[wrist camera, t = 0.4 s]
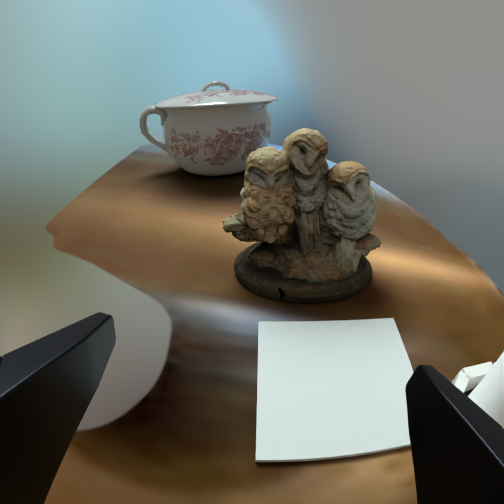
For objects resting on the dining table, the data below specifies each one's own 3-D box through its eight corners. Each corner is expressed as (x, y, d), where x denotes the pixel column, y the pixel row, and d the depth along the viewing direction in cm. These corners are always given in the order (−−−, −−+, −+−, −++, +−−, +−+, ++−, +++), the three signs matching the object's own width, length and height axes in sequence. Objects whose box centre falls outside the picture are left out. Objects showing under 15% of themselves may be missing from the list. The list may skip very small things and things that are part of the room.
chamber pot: (297, 162, 74) (300, 80, 62) (228, 199, 55) (224, 83, 43) (211, 147, 87) (208, 79, 75) (136, 176, 68) (126, 91, 57)
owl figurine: (224, 308, 32) (211, 143, 23) (228, 247, 42) (221, 121, 33) (385, 299, 32) (420, 151, 23) (355, 244, 42) (371, 125, 33)
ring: (531, 451, 13) (547, 438, 12) (450, 491, 13) (467, 482, 12) (499, 371, 22) (511, 355, 20) (423, 389, 22) (434, 374, 21)
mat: (430, 440, 18) (433, 437, 17) (255, 462, 18) (255, 459, 18) (391, 321, 29) (393, 317, 29) (258, 325, 30) (258, 321, 29)
